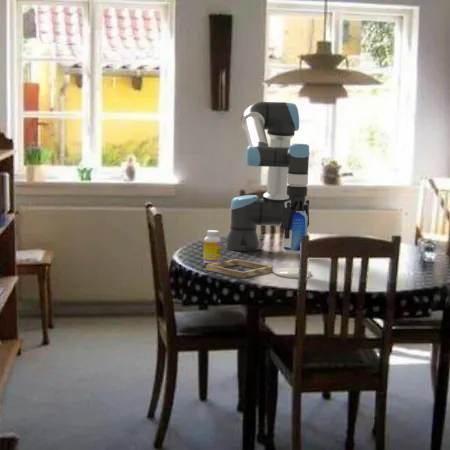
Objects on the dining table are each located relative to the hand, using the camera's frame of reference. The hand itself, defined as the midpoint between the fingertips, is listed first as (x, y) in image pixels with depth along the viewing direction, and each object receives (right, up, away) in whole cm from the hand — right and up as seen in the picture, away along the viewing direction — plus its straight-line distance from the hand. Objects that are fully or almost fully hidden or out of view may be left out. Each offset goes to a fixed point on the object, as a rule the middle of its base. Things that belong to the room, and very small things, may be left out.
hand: (294, 245), depth 298 cm
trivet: (0, -11, +2) cm, 11 cm away
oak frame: (-21, -10, +4) cm, 23 cm away
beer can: (0, -3, +1) cm, 3 cm away
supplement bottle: (-31, -7, +18) cm, 37 cm away
